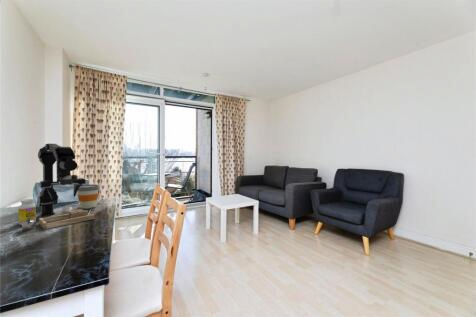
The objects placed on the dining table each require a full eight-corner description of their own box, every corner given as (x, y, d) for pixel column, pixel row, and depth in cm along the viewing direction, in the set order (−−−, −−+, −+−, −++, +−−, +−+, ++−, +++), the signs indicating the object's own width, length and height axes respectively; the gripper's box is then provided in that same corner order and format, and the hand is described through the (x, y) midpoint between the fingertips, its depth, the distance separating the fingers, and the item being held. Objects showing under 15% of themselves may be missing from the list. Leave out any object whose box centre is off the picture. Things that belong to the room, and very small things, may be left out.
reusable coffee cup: (102, 206, 150) (102, 185, 149) (82, 210, 139) (81, 188, 139) (94, 203, 156) (93, 183, 156) (74, 207, 146) (73, 186, 145)
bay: (39, 223, 114) (39, 218, 114) (87, 214, 131) (87, 209, 131) (44, 229, 105) (44, 223, 105) (94, 218, 123) (94, 213, 122)
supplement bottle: (24, 225, 110) (24, 201, 110) (15, 224, 111) (14, 201, 111) (39, 221, 117) (38, 198, 116) (30, 220, 118) (29, 198, 117)
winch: (21, 229, 105) (21, 216, 105) (33, 226, 109) (33, 214, 109) (23, 232, 102) (22, 218, 101) (35, 229, 105) (35, 216, 105)
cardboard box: (68, 219, 121) (68, 211, 121) (81, 217, 126) (81, 208, 125) (71, 222, 117) (71, 213, 117) (84, 219, 122) (84, 210, 122)
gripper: (42, 172, 101) (43, 204, 101) (88, 169, 115) (88, 197, 116) (39, 170, 108) (39, 200, 108) (82, 168, 122) (82, 194, 123)
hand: (63, 198), depth 114 cm, fingers open, 9 cm apart
